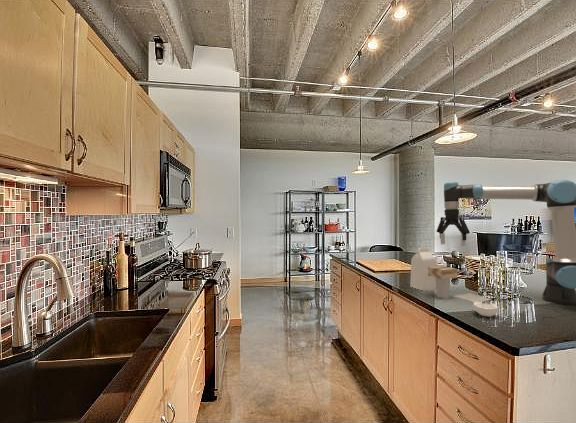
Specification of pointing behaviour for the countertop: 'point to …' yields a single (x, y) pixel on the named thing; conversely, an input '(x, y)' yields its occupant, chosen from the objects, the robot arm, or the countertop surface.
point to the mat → (472, 297)
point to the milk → (422, 270)
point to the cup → (442, 287)
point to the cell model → (486, 308)
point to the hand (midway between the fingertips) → (452, 245)
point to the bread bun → (442, 272)
